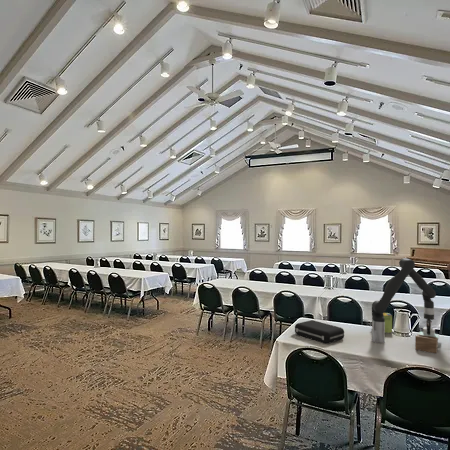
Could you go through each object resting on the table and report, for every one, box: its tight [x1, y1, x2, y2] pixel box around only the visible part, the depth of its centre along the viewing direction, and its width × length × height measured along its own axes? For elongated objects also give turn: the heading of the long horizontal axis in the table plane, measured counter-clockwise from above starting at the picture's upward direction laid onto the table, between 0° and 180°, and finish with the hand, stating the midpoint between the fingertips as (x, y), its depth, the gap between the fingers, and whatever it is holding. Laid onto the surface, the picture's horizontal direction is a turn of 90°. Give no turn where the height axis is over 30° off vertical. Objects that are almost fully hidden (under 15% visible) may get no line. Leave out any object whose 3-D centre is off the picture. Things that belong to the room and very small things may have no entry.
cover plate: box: [418, 327, 440, 340], centre depth 293 cm, size 14×14×6 cm
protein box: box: [371, 312, 393, 334], centre depth 324 cm, size 10×15×16 cm
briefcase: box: [294, 319, 345, 345], centre depth 306 cm, size 36×32×10 cm
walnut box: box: [414, 333, 439, 354], centre depth 276 cm, size 16×14×10 cm
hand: (428, 333), depth 293 cm, fingers closed on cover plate, 4 cm apart
